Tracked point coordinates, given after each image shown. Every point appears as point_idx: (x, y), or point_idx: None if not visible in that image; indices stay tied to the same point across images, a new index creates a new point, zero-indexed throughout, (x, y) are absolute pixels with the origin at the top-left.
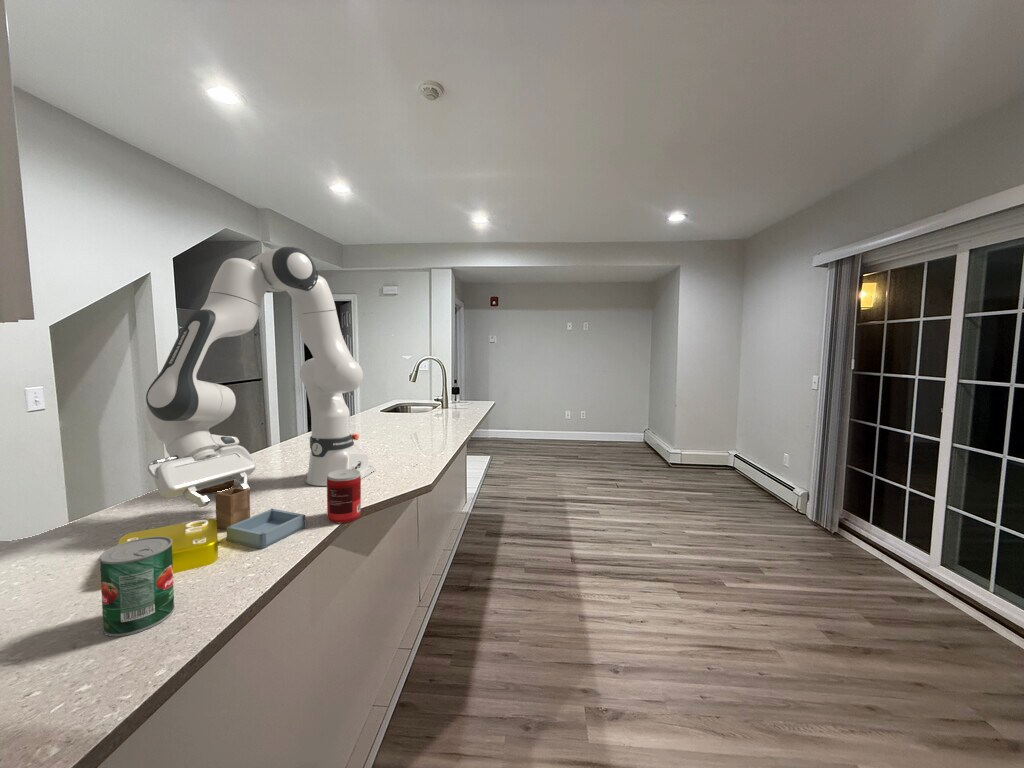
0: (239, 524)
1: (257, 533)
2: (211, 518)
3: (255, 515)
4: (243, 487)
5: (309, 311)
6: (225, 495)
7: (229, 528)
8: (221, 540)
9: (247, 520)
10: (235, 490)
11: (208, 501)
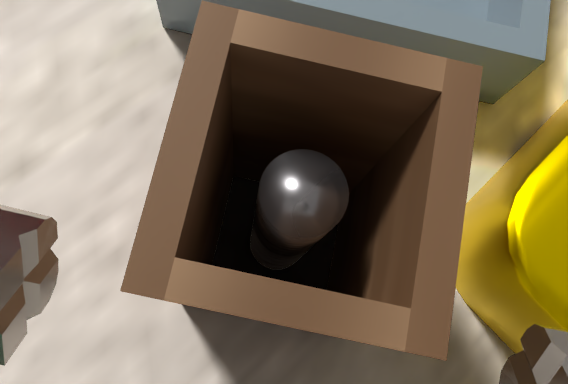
0: (467, 18)
1: None
2: (524, 236)
3: (306, 5)
4: (28, 230)
5: None
6: (469, 153)
7: (544, 36)
8: (493, 143)
9: (403, 2)
10: (182, 242)
11: (555, 328)
